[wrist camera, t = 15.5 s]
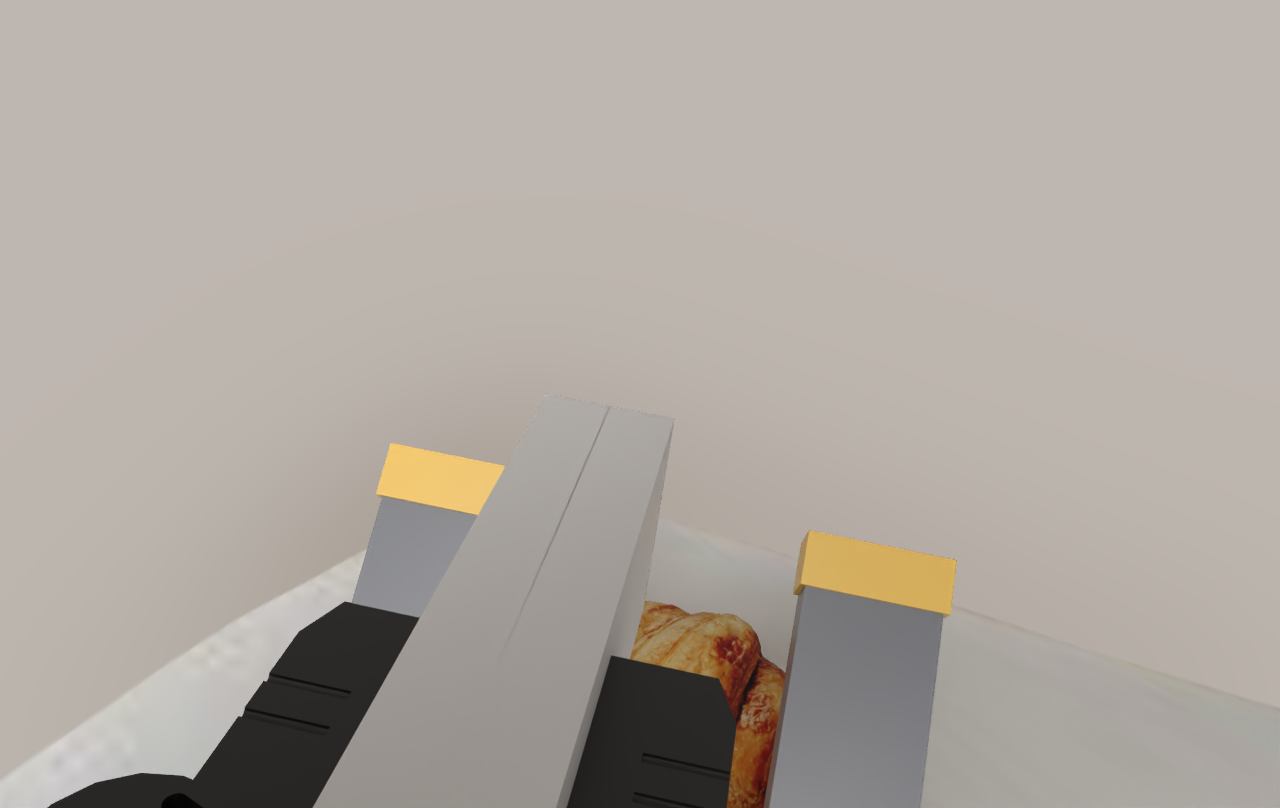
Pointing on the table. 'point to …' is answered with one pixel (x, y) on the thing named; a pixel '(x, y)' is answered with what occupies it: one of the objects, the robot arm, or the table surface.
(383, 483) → the lever
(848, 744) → the lever
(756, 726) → the croissant
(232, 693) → the table surface
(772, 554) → the table surface
